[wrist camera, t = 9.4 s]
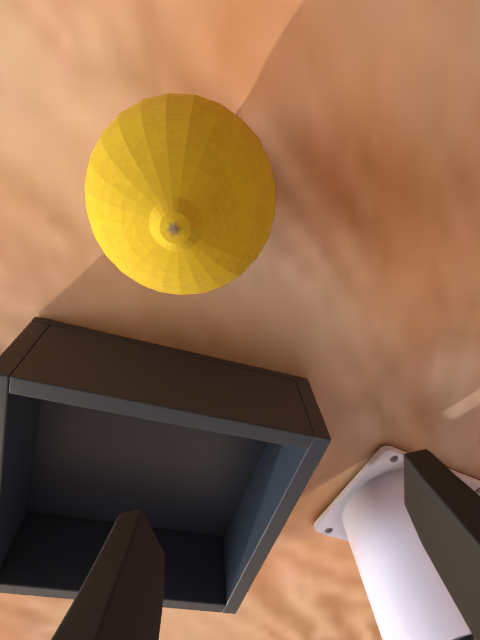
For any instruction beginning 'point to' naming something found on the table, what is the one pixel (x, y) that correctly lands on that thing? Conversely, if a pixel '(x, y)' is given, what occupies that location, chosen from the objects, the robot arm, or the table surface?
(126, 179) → the lemon
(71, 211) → the table surface
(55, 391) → the bin
